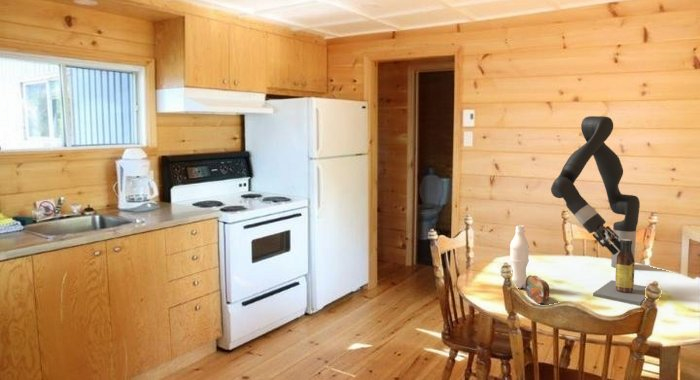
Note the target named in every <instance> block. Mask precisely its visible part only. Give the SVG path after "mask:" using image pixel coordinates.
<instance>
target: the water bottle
mask: <svg viewBox="0 0 700 380" xmlns="http://www.w3.org/2000/svg"><path fill="white" fill-rule="evenodd" d="M525 232H526V231H525V226H524V225H520V224H519V225H516V226H515V235H514V236H513V239H511V242H510V245H509V246H510V247H509V248H510V249H509V252H510V253H509V255H510V257H509V261H510V264H511V270H512V269H513V277H512V280H513V282H514V283H515V284H516V286H517V287H518V288H519V289H518V290H520V289H526V286H525V285H526V279H527V277H528V276H527V267H528V265H529V261H530V260H529V251H530V250H529V248H530V244H529V242H528V240H527V238H526V236H525Z"/></svg>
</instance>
